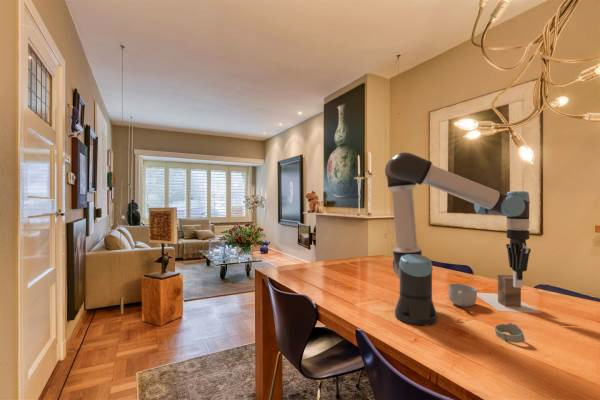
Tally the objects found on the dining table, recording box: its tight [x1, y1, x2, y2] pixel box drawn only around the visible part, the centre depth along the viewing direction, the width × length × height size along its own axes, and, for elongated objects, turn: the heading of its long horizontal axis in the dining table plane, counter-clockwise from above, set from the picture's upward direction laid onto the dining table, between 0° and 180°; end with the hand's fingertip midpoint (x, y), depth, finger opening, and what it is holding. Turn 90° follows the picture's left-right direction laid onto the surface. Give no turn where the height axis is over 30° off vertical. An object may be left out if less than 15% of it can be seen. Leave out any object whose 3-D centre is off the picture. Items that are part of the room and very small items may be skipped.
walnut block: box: [497, 274, 522, 308], centre depth 129 cm, size 6×6×12 cm
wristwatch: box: [494, 322, 526, 344], centre depth 99 cm, size 9×6×5 cm
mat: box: [476, 292, 542, 314], centre depth 133 cm, size 24×16×1 cm, turn 173°
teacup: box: [448, 283, 478, 308], centre depth 130 cm, size 14×11×8 cm
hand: (517, 286), depth 123 cm, fingers closed
